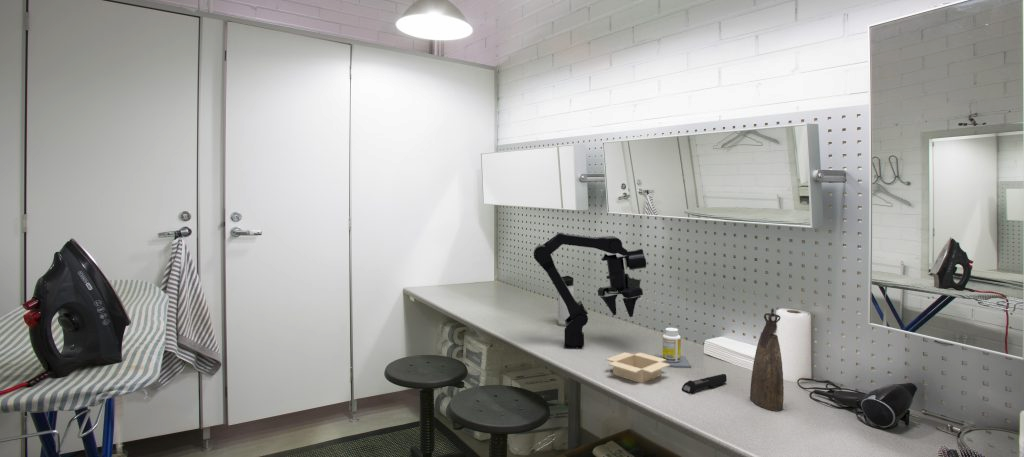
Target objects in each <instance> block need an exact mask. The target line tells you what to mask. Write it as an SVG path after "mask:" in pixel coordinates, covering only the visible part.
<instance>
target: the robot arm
mask: <svg viewBox="0 0 1024 457" xmlns="http://www.w3.org/2000/svg"><path fill="white" fill-rule="evenodd" d="M563 245H564V246H565V245H566V246H575V247H582V248H590V249H592V248H593V249H597V250H599V251H602V252H605V253H604V254H603V256H602V257H601V258H600V260H601V261H603V262H604V261H606V263H607V264H606V265H607V271H608V272H607V273H608V275H606V279H607V280H609V285H607V286H602V287H599V288H598V289H597V296H598V297H600V299H602V300H603V301H604V302H603V303H605V305H606V306H607V308H608V309H609V311H610V312H611V314H612V315H613V316H617V301H616V299H617V297H618V295H622V297H623V298H622V301H623V304H624V307H625V308H626V309H625V310H626V312H627V315H628V317H629V318H632V317H634V313H635V306H636V302H637V300H638V299H641V296H643V295H644V291H643V288H642V287H640V286H641V279H637V278H633V277H630V276H629V274H628V273H626V270H625V268H628V270H629V271H634V270H641V269H646V268H647V259H646V257H645V254H644V250H643V249H642V248H639V249H634V250H628V249H626V248H624V246H623V242H622V241H621V239H620V238H619V237H617V236H614V235H607V236H605V235H604V236H596V237H595V236H587V235H578V234H570V233H563V232H557V233H556V234H555V235H554V236H553V237H551V238H550V239H549V240H547V241H546V242H544V243H543V244H538V245H536V246H535V248H534V249H533V258H534V260H535V261H536V262H537V264H539V266H540V267H541V268H542V269H543V270H544V271H545V272H546V274H547V275H548V278H550V280H551V282H552V284H553V285H554V287H555V289H556V291H557V293H558V292H559V294H560V296H561V297H562V299H563V301H564V302H565V304H566V306H567V309H568V312H569V315H570V316H569V317H568V318H567V319H566V320H565V325H566V327H564V344H563V349H583V348H584V346H585V332H583V328H584V327H585V326H586V325H587V323H588V322H589V316H588V314H589V312H588V310H587V308H586V307H585V306H584V304H583V302H582V300H579V301H577V300H576V299H575V296H574V297H573V296H572V294H571V292H570V291H569V289H568V287H567V286H566V284H565V282H564V280H563V279H562V277H563V276H561V273H560V272H559V271H558V269H557V267H556V264H555V262H554V259H553V257H552V254H553V253H554V252H555V251H557V249H559V248H560V247H562V246H563ZM607 253H609V254H607ZM617 254H618V255H621V256H618V255H617Z"/></svg>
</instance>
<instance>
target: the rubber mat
mask: <svg viewBox="0 0 1024 457" xmlns="http://www.w3.org/2000/svg"><path fill="white" fill-rule="evenodd" d="M653 356H655V357H659V358H663V354H662V355H661V354H660V355H659V354H654V355H653ZM663 363H667V364H670V366H668V367H667V368H678V369H679V368H680V369H681V368H684V369H691V368H692V366H691V363H690V362H689V360H688V359H687V356H685V355H681V360H680V361H679V362H674V363H673V362H667V361H665V362H663Z"/></svg>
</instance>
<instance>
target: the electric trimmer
mask: <svg viewBox="0 0 1024 457" xmlns="http://www.w3.org/2000/svg"><path fill="white" fill-rule="evenodd" d="M725 383H727V375H726V374H725V373H721V374H717V375H713V376H708V377H707V376H706V377H704V378H700V379H695V380H688V381H687V382H684V383H683V385H682V387H681V391H682V392H683V393H686V394H688V395H694V394H695V392H698V391H702V390H704V389H713V388H717V387H719V386H721V385H723V384H725Z"/></svg>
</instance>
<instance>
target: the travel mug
mask: <svg viewBox="0 0 1024 457" xmlns="http://www.w3.org/2000/svg"><path fill="white" fill-rule="evenodd" d="M561 277H562V279H563V280H564V282H565V284H566V286H567V287H568V289H569V291H570V292H571V294H572V296H573V297H574V298H575V296H574V290H575V289H574V277H572V276H571V275H564V276H561ZM557 295H558V296H557V298H558V299H557V302H558V306H557V308H558V309H557V310H558V312H557V314H558V315H557V316H558V323H557V324H558V325H559V326H560V327H564V328H566V325H565V320H566V319H567V318H568V317H569V316H570V315H569V312H568V309H567V306H566V304H565V302H564V301H563V299H562V297H561V296H560V294H559V292H558V291H557Z"/></svg>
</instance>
